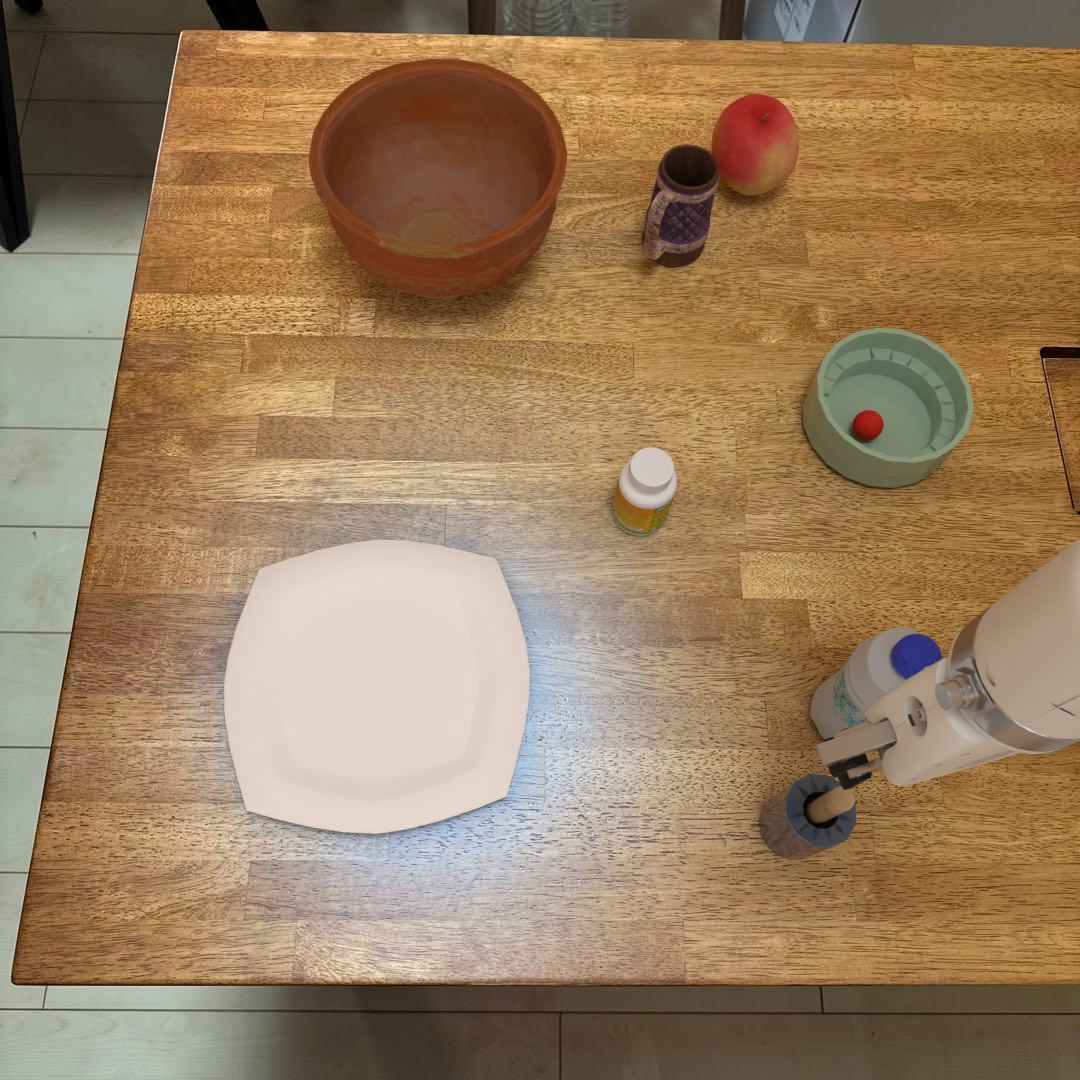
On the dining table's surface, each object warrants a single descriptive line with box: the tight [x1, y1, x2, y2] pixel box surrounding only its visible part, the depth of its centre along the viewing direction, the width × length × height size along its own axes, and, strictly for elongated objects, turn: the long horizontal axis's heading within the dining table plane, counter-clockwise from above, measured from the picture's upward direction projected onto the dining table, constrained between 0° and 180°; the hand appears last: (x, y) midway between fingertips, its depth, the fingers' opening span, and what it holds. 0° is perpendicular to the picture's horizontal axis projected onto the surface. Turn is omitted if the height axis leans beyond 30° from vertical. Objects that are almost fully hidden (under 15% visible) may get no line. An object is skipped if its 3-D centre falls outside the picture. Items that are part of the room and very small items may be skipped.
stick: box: [803, 786, 856, 827], centre depth 81 cm, size 2×2×14 cm
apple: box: [710, 93, 800, 197], centre depth 112 cm, size 10×10×10 cm
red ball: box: [852, 410, 884, 440], centre depth 102 cm, size 3×3×3 cm
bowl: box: [308, 58, 568, 301], centre depth 105 cm, size 25×25×15 cm
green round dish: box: [802, 327, 975, 489], centre depth 102 cm, size 15×15×6 cm
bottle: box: [809, 627, 943, 740], centre depth 83 cm, size 7×7×20 cm
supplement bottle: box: [611, 446, 678, 537], centre depth 95 cm, size 5×5×10 cm
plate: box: [223, 538, 531, 835], centre depth 91 cm, size 27×27×2 cm
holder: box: [758, 773, 858, 861], centre depth 84 cm, size 6×6×9 cm
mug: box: [641, 144, 720, 267], centre depth 107 cm, size 10×7×12 cm
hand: (906, 745), depth 66 cm, fingers open, 9 cm apart
